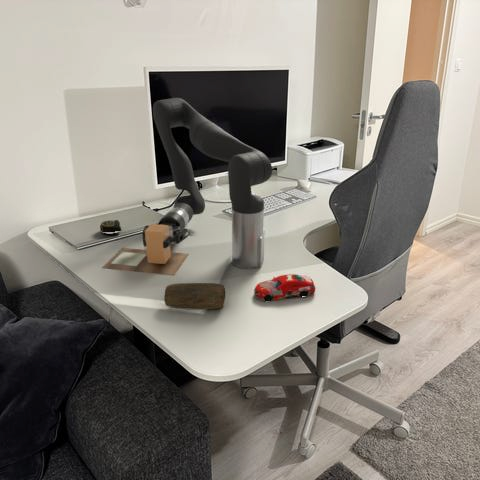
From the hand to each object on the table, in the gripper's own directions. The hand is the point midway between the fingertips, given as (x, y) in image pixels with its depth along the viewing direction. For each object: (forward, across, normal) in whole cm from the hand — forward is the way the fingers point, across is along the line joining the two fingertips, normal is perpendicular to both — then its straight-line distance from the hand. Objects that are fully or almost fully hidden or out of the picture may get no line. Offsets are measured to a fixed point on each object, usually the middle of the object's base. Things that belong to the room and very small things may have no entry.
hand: (154, 244), depth 130 cm
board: (-3, -4, +8) cm, 10 cm away
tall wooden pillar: (-3, 0, +6) cm, 7 cm away
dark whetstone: (+16, +16, +9) cm, 25 cm away
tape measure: (-24, -25, +9) cm, 36 cm away
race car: (+5, +38, +9) cm, 39 cm away
